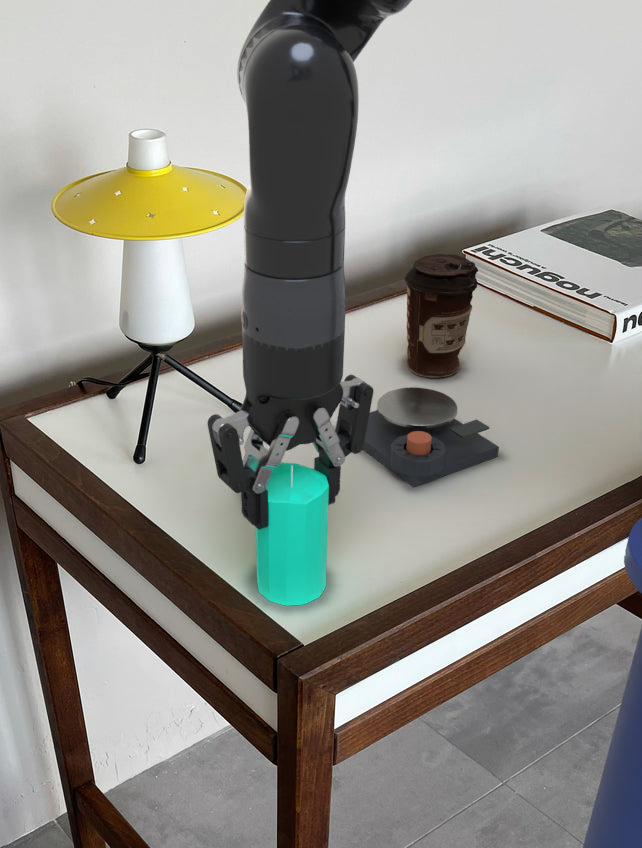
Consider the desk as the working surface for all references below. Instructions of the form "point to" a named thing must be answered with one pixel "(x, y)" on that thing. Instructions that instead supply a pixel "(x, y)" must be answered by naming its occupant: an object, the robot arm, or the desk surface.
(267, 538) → the candle
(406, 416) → the scale pan
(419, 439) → the tare button
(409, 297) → the coffee cup
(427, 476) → the scale
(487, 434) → the desk surface
